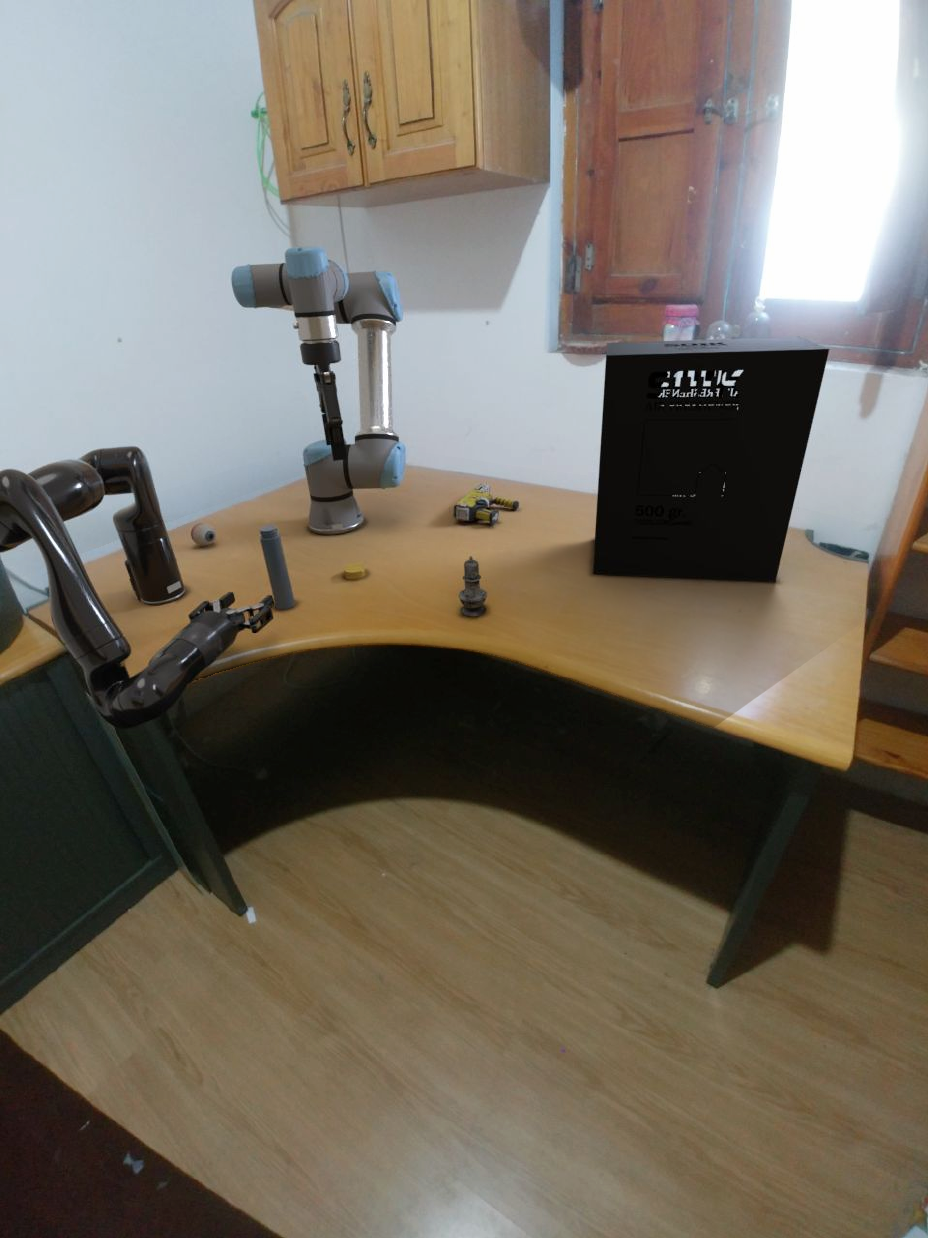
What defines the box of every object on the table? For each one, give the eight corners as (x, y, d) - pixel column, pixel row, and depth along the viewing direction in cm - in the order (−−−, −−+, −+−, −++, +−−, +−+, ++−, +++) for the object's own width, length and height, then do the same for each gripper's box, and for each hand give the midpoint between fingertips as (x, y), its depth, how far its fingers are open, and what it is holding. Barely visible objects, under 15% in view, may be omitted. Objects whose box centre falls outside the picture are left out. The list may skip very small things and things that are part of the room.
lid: (348, 581, 138) (347, 574, 137) (341, 573, 142) (340, 566, 141) (369, 576, 140) (368, 569, 139) (362, 568, 143) (360, 561, 142)
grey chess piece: (485, 617, 120) (483, 562, 114) (456, 616, 121) (452, 561, 115) (490, 603, 125) (488, 550, 119) (462, 602, 126) (459, 549, 120)
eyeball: (204, 551, 157) (198, 529, 154) (189, 547, 160) (183, 525, 157) (223, 542, 162) (217, 521, 159) (208, 539, 165) (202, 518, 162)
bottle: (286, 599, 132) (269, 523, 123) (298, 603, 130) (282, 526, 121) (272, 606, 129) (253, 529, 120) (284, 611, 127) (266, 533, 118)
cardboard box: (755, 543, 144) (798, 336, 121) (775, 581, 127) (829, 348, 104) (594, 538, 151) (606, 342, 129) (592, 573, 134) (606, 355, 112)
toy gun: (527, 488, 179) (479, 481, 183) (505, 513, 159) (452, 504, 162) (525, 503, 181) (478, 496, 185) (503, 529, 161) (451, 520, 165)
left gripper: (233, 626, 100) (281, 582, 114) (160, 620, 103) (214, 577, 117) (244, 663, 104) (288, 616, 117) (173, 656, 107) (224, 611, 121)
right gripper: (295, 337, 125) (313, 440, 136) (303, 348, 105) (323, 469, 115) (331, 334, 127) (346, 436, 138) (346, 344, 106) (362, 464, 117)
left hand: (251, 597), depth 117 cm, fingers open, 8 cm apart
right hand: (336, 451), depth 127 cm, fingers open, 13 cm apart
